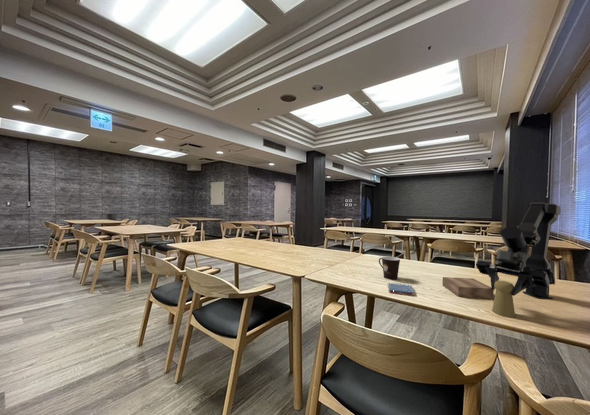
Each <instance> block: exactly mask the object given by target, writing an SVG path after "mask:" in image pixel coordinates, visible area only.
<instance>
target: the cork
mask: <svg viewBox="0 0 590 415" xmlns="http://www.w3.org/2000/svg"><path fill="white" fill-rule="evenodd" d="M514 286H515V285H514V284H513V283H512V282H509V281H506V280H498V281H496V282H495V283H494V287H495V289H494V290H495V293H494V294H495V295H494V297H493V304H492V309H491V311H492V313H494V314H496V315H497V316H502V317H505V318H515V317H516V310H515V305H514V298H513V297H514V296H513V295H512V290H513V288H514Z"/></svg>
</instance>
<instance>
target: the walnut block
mask: <svg viewBox="0 0 590 415" xmlns="http://www.w3.org/2000/svg"><path fill="white" fill-rule="evenodd" d="M442 287H444V288H445V289H447V290H449V291H450V292H451V293H453V294H454V295H455V296H457V297H461V298H475V299H476V298H479V299H493V300H494V297H495V295H494V294H495V293H494V291H495V289H494V290H492V289H491V286H489V285H487V284H485V283H484V282H482V281H479V280H477V279H476V278H470V277H469V278H468V277H448V276H442Z"/></svg>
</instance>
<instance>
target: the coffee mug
mask: <svg viewBox="0 0 590 415" xmlns="http://www.w3.org/2000/svg"><path fill="white" fill-rule="evenodd" d="M400 262H401V259H400V258H399V257H396V256H391V255H390V256H388V255H387V256H385V255H384V256H381V257H380V258H379V259H378V264H379V265H380V266H381V268H382V271H383V278H384V279H386V280H391V281H392V280H393V281H396V280H398V275H399V269H400ZM381 263H382V264H381Z"/></svg>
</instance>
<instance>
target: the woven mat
mask: <svg viewBox="0 0 590 415" xmlns="http://www.w3.org/2000/svg"><path fill="white" fill-rule="evenodd" d="M387 288H388V291H389V292H388V293H389V294H394V293H397V294H396V295H402V294H403V295H404V296H411V297H412V296H413V297H416V294H415V290H414V288H413V286H412V285H410V284H402V283H393V282H388V283H387ZM393 290H394V292H393Z"/></svg>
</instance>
